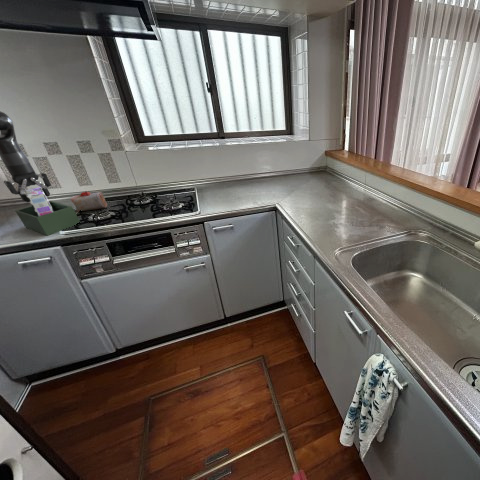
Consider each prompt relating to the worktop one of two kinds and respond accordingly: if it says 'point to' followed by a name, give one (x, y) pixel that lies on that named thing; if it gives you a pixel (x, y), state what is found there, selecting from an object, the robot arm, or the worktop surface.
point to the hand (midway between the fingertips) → (38, 198)
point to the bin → (49, 218)
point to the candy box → (39, 201)
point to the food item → (89, 201)
